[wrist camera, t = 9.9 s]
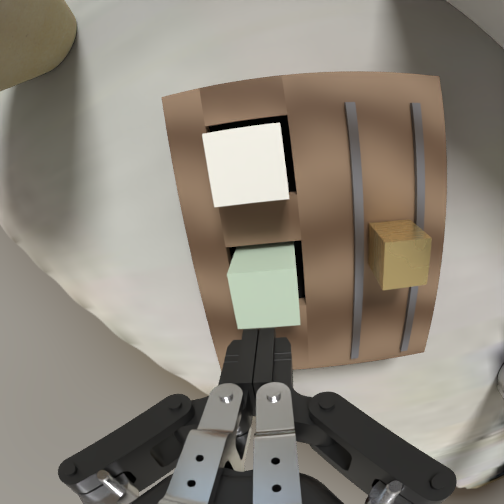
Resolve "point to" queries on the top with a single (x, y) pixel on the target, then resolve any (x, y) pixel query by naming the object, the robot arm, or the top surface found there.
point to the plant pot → (33, 38)
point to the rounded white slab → (484, 16)
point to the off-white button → (246, 165)
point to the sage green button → (264, 285)
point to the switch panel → (323, 204)
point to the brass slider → (399, 254)
